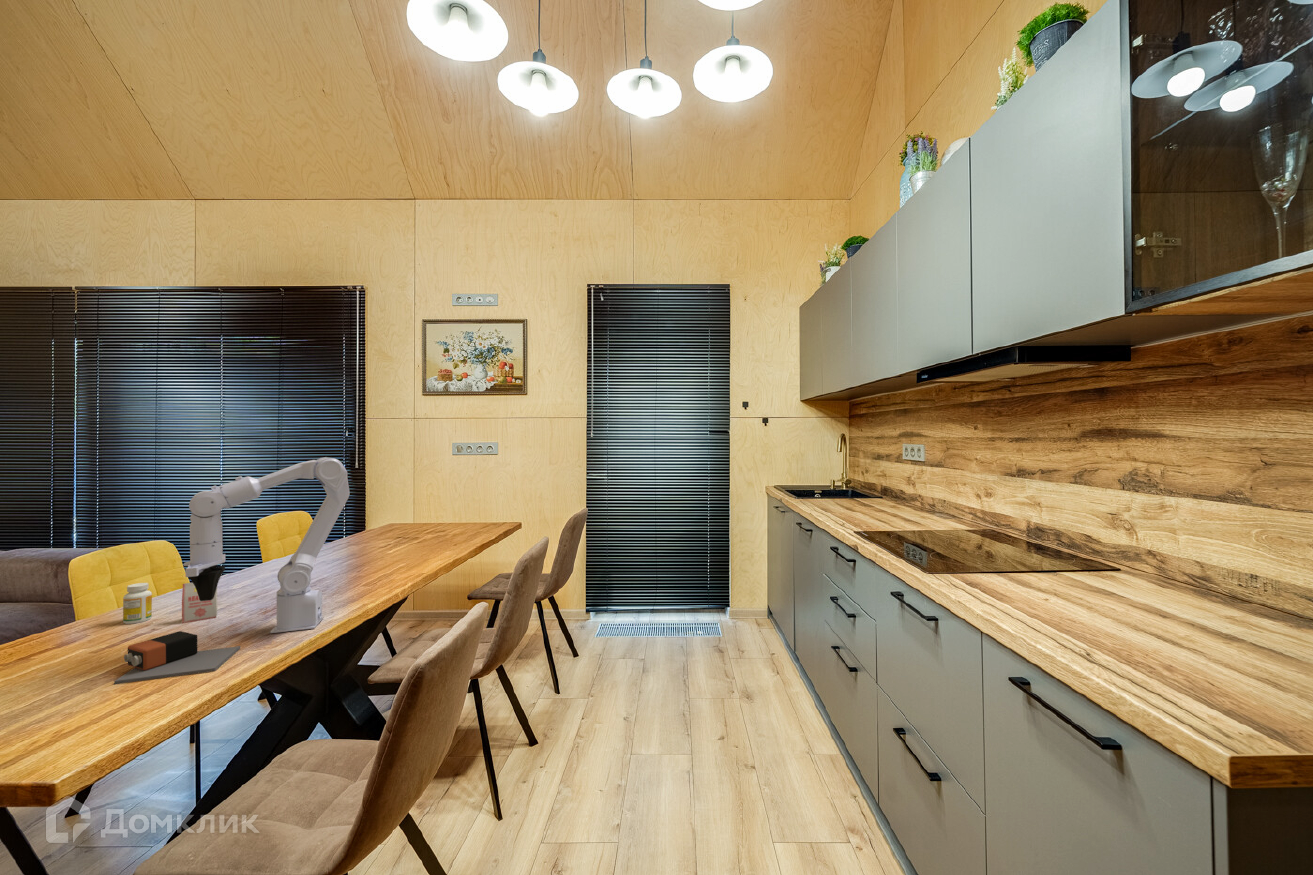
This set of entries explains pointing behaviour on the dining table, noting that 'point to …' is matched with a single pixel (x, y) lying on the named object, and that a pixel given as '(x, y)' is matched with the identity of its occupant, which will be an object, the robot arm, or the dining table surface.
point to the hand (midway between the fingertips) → (206, 599)
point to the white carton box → (196, 605)
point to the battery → (161, 650)
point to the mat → (183, 666)
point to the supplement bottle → (137, 604)
